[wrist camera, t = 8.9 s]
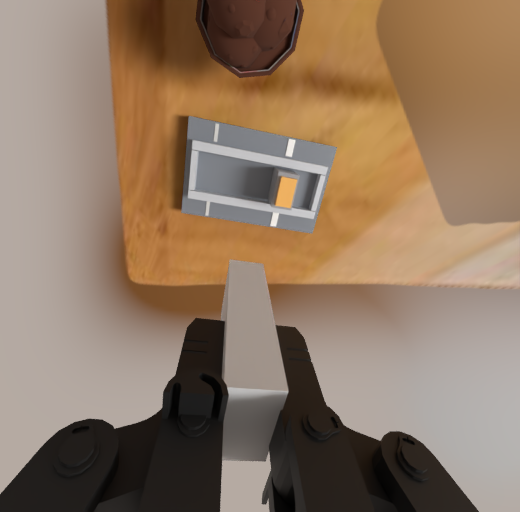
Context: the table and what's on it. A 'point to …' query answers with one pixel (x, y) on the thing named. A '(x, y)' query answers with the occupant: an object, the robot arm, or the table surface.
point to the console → (251, 175)
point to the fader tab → (283, 188)
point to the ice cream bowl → (250, 33)
